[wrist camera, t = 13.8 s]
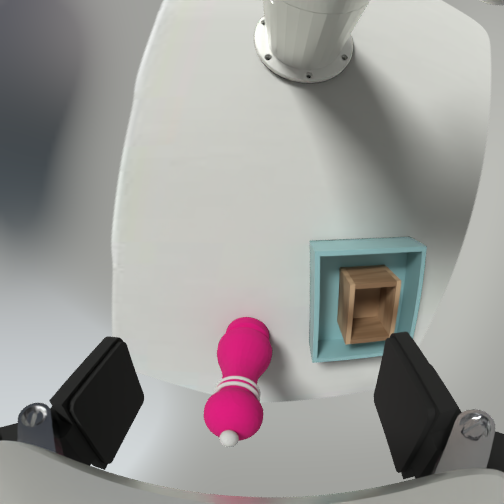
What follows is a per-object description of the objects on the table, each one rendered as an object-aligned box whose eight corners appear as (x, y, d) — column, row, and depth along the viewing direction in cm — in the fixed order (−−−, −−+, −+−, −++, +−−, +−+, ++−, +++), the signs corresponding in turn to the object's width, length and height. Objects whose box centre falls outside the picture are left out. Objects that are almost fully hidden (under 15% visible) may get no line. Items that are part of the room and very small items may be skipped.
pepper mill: (281, 327, 40) (282, 439, 21) (258, 361, 42) (245, 470, 23) (236, 305, 40) (205, 410, 21) (215, 342, 42) (179, 447, 23)
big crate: (309, 240, 37) (314, 251, 32) (410, 236, 35) (426, 246, 31) (309, 342, 41) (312, 362, 36) (398, 333, 39) (409, 351, 35)
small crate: (339, 267, 37) (350, 284, 31) (384, 264, 36) (401, 280, 30) (336, 321, 39) (345, 344, 33) (379, 317, 38) (392, 339, 32)
